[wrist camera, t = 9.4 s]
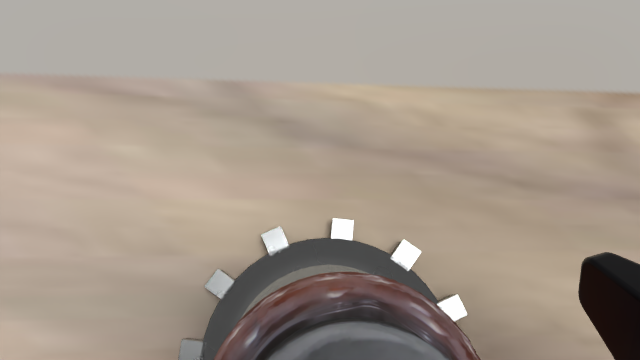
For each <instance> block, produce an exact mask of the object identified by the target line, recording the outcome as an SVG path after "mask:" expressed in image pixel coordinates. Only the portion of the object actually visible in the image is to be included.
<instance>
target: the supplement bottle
mask: <svg viewBox="0 0 640 360" xmlns="http://www.w3.org/2000/svg"><path fill="white" fill-rule="evenodd" d="M213 360H480V358H479V357H478V355H477V354H476V351H475V350H474V348H473V347H472V345H471V343H470V340H469V339H468V337H467V336H466V335H465V334H464V333H463V332H462V330H461V329H460V328H459V327H458V325H457V324H456V323H455V322H454V321H453V320H452V319H451V317H450V316H449V315H447V314H446V313H445V312H444V311H443V310H442V309H441V308H440V307H439V306H438V305H437V304H435V303H434V302H432V301H431V300H430V299H428V298H427V297H425V296H424V295H423V294H422V293H420V292H418V291H416V290H414V289H413V288H411V287H409V286H407V285H405V284H403V283H399V282H397V281H396V280H393V279H389V278H386V277H383V276H380V275H372V274H366V273H359V272H347V271H346V272H331V273H323V274H318V275H313V276H309V277H306V278H302V279H299V280H297V281H295V282H292V283H290V284H288V285H285V286H283V287H281V288H280V289H278V290H276V291H275V292H272V293H270V294H269V295H268V296H266V297H265V298H263V299H262V300H260V301H259V302H258V303H257V304H256V305H255V306H254V307H252V308H251V309H250V310H249V311H248V312H247V313H246V314H245V315H244V316H243V317H242V318H241V319H240V320H239V321H238V322H237V324H236V325H235V327H234V328H233V329H232V331H231V332H230V333H229V334H228V336H227V337H226V339H225V340H224V342H223V343H222V345H221V347H220V348H219V350H218V352H217V354H216V356H215V358H214V359H213Z"/></svg>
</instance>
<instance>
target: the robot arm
mask: <svg viewBox="0 0 640 360" xmlns="http://www.w3.org/2000/svg"><path fill="white" fill-rule="evenodd" d="M578 293H579V300H580V303H581V305H582V307H583V309H584V310H585V312H586V314H587V315H588V317H589V318H590V320H591V322H592V323H593V325H594V326H595V328H596V330H597V331H598V333H599V335H600V336H601V338H602V339H603V341H604V343H605V344H606V346H607V347H608V349H609V351H610V352H611V354H612V355H613V357H614V359H615V360H640V264H638V263H635V262H633V261H630V260H628V259H626V258H623V257H621V256H618V255H616V254H613V253H609V252H605V253H601V254H597V255H594V256H591V257H587V258H585V259H584V261H583V262H582V266H581V274H580V283H579V291H578Z"/></svg>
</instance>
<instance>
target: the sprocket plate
mask: <svg viewBox="0 0 640 360" xmlns="http://www.w3.org/2000/svg"><path fill="white" fill-rule="evenodd" d="M353 225H354V220H347V219H337V218H333V220H332V228H331V238H321V239H310V240H305V241H301V242H296V243H293V244H290V245H289V244H288V242H287V240H286V237H285V235H284V233H283V230H282V228H281V226H280V227H277V228H275V229H273V230H271V231H268V232H266V233H264V234H261V236H262V238H263V241H264V243H265V245H266V248H267V250H268V253H269V254H267V255H265V256H264V257H262V258H261V259H259V260H258V261H257V262H255V263H254V264H252V265H251V266H250V267H249V268H247V269H246V270H245V271H244V272H243V273H242V274H241V275H240V276H239V277H238V278H237V279H236V280H234V279H233V278H232V277H230V276H229V275H228V274H226V273H225V272H224V271H222V270H220V269H217V271H216V272H215V273H214V275H213V276H212V277H211V279H210V280H209V281H208V282H207V284H206V285H205V286H204V287H206V288H207V289H208V290H210V291H211V292H212V293H213V294H215V295H216V296H217V297H219V298H220V299H221V300H220V301H219V303H218V305H217V307H216V309H215V311H214V313H213V315H212V317H211V319H210V321H209V324H208V327H207V330H206V333H205V336H204V340H199V339H190V338H186V339H182V341H181V347H180V353H179V359H178V360H213V359H214V358H215V356H216V354H217V352H218V350H219V348H220V347H221V345H222V343H223V342H224V340H225V339H226V337H227V336H228V334H229V333H230V332H231V331H232V329H233V328H234V327H235V325H236V324H237V322H238V321H239V320H240V319H241V318H242V317H243V316H244V315H245V314H246V313H247V312H248V311H249V310H250V309H251V308H252V307H254V306H255V305H256V304H257V303H258V302H259V301H260V300H262V299H263V298H265V297H266V296H268V295H269V294H270V293H272V292H275V291H276V290H278V289H280V288H281V287H283V286H285V285H288V284H290V283H292V282H295V281H297V280H299V279H302V278H306V277H309V276H313V275H318V274H323V273H331V272H346V271H347V272H359V273H366V274H372V275H380V276H383V277H386V278H389V279H393V280H396V281H397V282H399V283H403V284H405V285H407V286H409V287H411V288H413V289H414V290H416V291H418V292H420V293H422V294H423V295H424V296H425V297H427V298H428V299H430V300H431V301H432V302H434V303H435V304H437V305H438V306H439V307H440V308H441V309H442V310H443V311H444V312H445V313H446V314H447V315H449V316H450V317H451V319H452V320H453V321H456V320H458V319H460V318H462V317H464V316H466V315H468V314H467V312H466V310H465V308H464V306H463V304H462V302H461V300H460V298H459V296H458V294H454V295H450V296H448V297H446V298H444V299H442V300H440V301H437V299H436V297H435V296H434V295H433V293H432V292H431V291H430V289H429V288H428V286H427V285H426V284H425V283H424V282H423V281H422V280H421V279H420V278H419V277H418V275H417V274H416V273H415V272H413V271H412V270H411V269H410V268H411V267H412V265H413V264H414V262H415V261H416V259H417V258H418V256H419V255H420V253H421V251H420V250H418V249H417V248H416V247H414V246H413V245H411V244H410V243H408V242H407V241H406V240H404V239H403V240H402V241H401V242H400V243H399V244H398V246H397V247H396V249H395V250H394V252H393V253H392V254H391V255H390V254H388V253H386V252H384V251H382V250H380V249H378V248H376V247H373V246H370V245H367V244H364V243H361V242H357V241H352V236H353Z"/></svg>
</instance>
